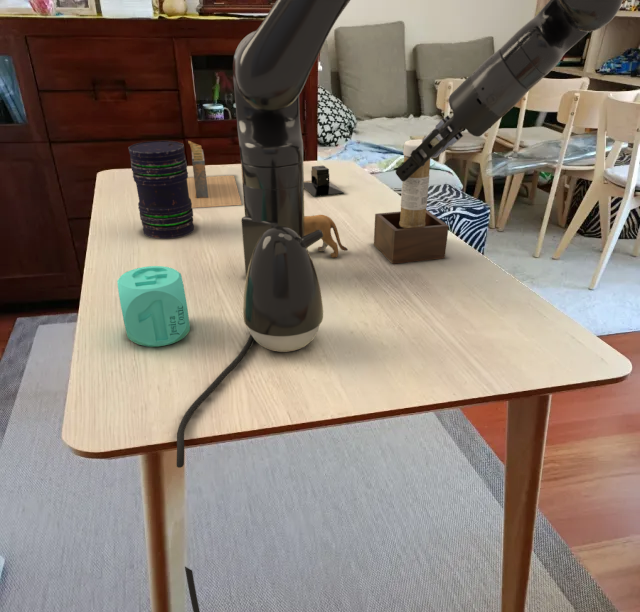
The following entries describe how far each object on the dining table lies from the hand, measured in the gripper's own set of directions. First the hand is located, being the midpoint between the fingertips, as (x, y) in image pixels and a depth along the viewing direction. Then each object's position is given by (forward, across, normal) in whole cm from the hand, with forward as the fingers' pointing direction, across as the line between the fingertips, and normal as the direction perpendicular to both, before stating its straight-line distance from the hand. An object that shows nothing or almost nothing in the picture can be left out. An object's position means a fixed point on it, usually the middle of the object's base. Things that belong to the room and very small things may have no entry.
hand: (404, 172), depth 100 cm
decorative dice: (+23, +44, -5) cm, 49 cm away
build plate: (+30, -31, -12) cm, 44 cm away
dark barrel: (+40, +8, -22) cm, 46 cm away
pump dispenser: (+11, +39, +7) cm, 41 cm away
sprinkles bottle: (+5, 0, +8) cm, 9 cm away
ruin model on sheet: (+47, -18, -29) cm, 58 cm away
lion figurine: (+20, +9, -1) cm, 22 cm away
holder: (+8, 0, +10) cm, 13 cm away
